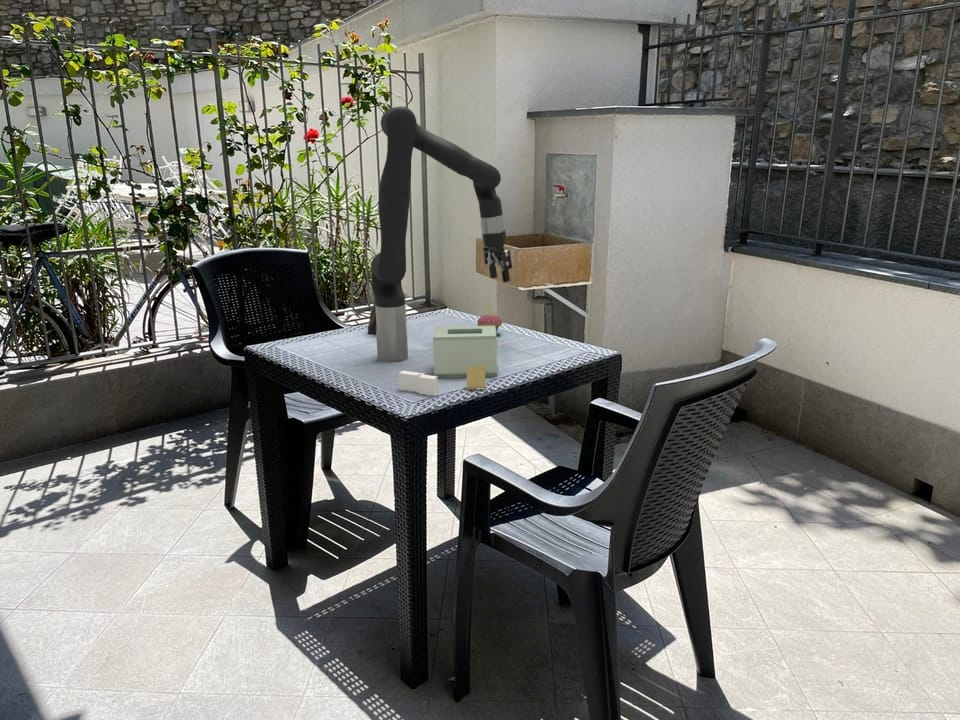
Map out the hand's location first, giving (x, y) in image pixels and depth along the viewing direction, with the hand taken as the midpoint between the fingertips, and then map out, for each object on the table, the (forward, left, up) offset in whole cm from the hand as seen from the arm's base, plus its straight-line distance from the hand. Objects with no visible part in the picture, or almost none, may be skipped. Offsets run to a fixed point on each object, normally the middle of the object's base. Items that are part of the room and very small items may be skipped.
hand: (500, 279), depth 240 cm
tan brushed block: (-8, -44, -22) cm, 49 cm away
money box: (-11, -28, -22) cm, 37 cm away
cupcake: (-3, +13, -22) cm, 26 cm away
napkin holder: (-24, -46, -23) cm, 57 cm away
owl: (-40, +20, -22) cm, 50 cm away
